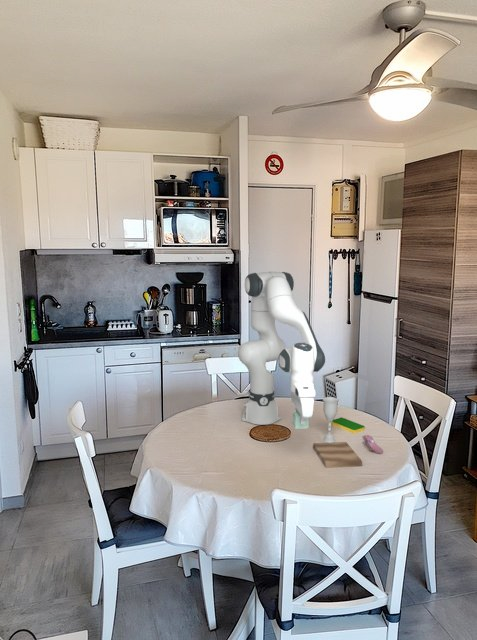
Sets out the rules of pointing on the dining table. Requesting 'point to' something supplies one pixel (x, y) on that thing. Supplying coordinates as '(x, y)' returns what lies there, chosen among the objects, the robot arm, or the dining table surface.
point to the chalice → (330, 415)
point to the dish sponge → (348, 425)
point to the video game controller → (371, 444)
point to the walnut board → (337, 454)
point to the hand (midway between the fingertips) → (300, 420)
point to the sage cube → (297, 421)
